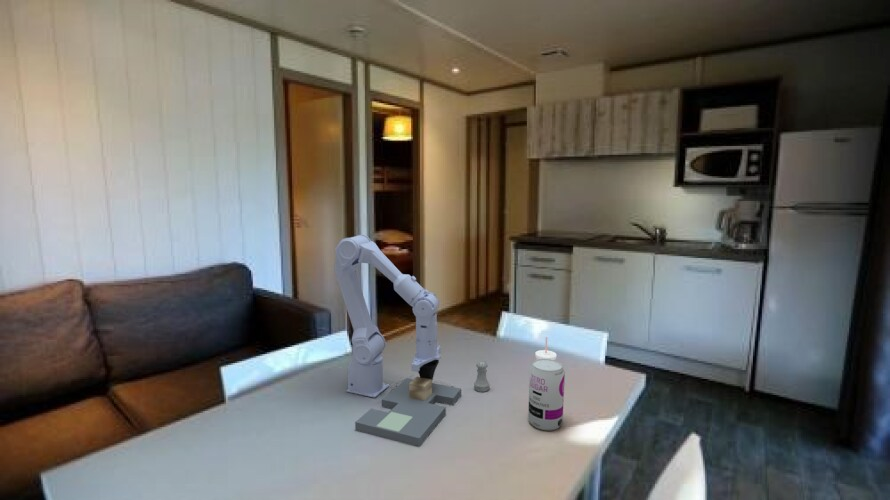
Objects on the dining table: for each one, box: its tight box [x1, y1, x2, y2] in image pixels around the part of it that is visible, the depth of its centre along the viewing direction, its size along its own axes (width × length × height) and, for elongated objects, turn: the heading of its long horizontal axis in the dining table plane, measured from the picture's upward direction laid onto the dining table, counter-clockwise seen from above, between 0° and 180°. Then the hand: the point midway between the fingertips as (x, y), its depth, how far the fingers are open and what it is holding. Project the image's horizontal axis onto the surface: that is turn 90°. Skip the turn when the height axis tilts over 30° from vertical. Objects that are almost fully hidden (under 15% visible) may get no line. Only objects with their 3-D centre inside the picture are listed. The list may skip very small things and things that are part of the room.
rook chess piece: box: [473, 360, 490, 393], centre depth 123 cm, size 4×4×8 cm
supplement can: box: [527, 359, 566, 432], centre depth 105 cm, size 8×8×15 cm
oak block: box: [409, 376, 433, 401], centre depth 115 cm, size 4×4×4 cm
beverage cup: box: [534, 336, 557, 361], centre depth 126 cm, size 6×6×14 cm
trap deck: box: [354, 377, 462, 447], centre depth 111 cm, size 17×26×2 cm, turn 157°
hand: (426, 386), depth 119 cm, fingers closed
